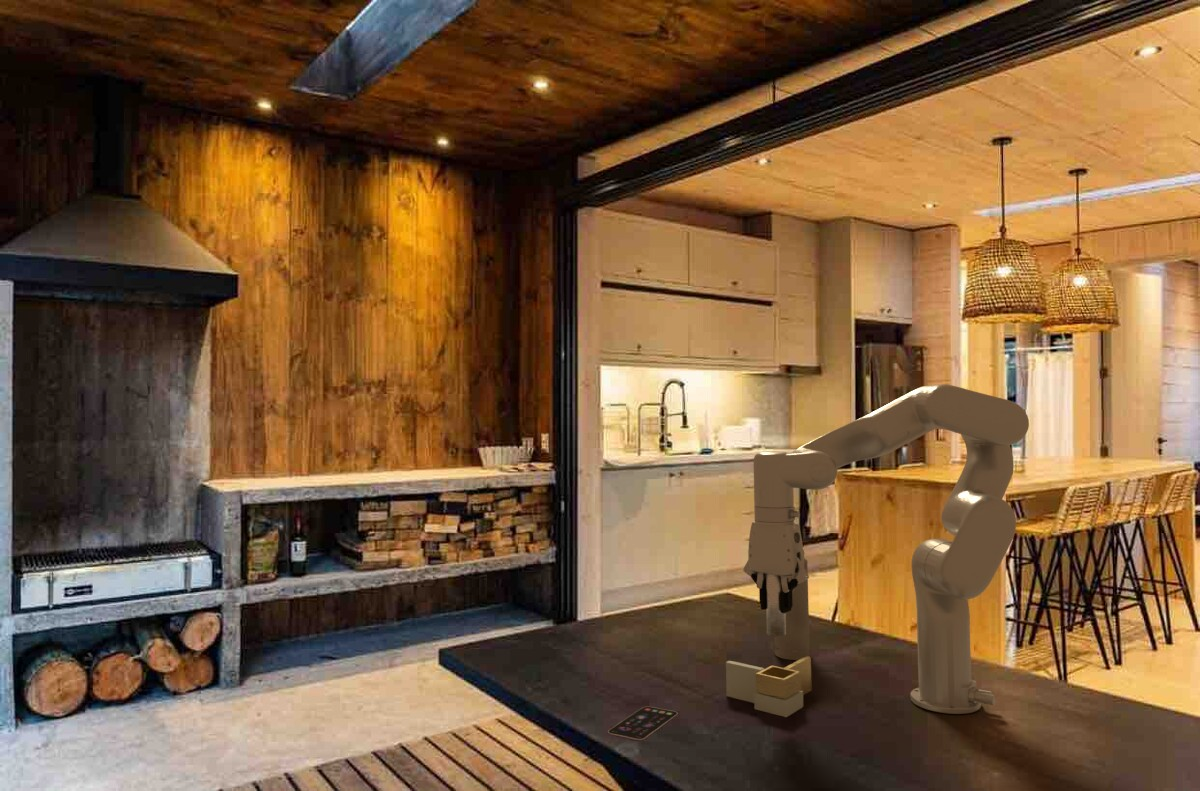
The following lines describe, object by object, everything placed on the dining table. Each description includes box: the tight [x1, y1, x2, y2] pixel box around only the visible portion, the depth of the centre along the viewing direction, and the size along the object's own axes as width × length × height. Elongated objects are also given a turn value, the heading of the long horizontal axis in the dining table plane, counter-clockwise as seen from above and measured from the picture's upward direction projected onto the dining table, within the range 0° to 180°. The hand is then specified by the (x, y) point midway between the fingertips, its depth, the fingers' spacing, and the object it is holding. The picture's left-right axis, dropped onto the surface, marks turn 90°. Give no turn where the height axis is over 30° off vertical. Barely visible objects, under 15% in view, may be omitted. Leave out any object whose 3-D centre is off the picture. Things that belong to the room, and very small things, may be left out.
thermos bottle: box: [773, 549, 811, 661], centre depth 190 cm, size 8×8×28 cm
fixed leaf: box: [756, 656, 812, 699], centre depth 160 cm, size 6×16×7 cm, turn 139°
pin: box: [765, 574, 786, 637], centre depth 156 cm, size 4×4×13 cm
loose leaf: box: [725, 660, 804, 718], centre depth 159 cm, size 15×7×7 cm, turn 49°
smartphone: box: [607, 706, 679, 741], centre depth 150 cm, size 8×1×15 cm
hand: (776, 609), depth 156 cm, fingers closed on pin, 3 cm apart
